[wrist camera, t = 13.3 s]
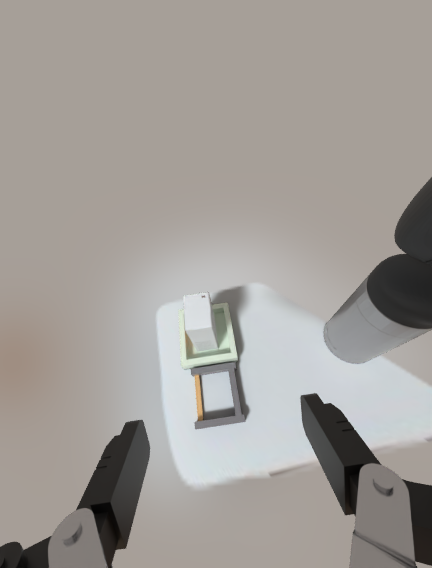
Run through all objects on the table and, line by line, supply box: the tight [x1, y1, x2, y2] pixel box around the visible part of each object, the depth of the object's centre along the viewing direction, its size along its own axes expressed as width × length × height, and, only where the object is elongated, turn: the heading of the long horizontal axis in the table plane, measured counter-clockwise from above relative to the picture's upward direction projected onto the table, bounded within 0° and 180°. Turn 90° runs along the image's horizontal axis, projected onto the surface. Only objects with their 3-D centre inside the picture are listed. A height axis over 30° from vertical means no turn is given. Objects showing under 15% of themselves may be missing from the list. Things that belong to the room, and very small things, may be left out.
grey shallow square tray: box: [191, 362, 245, 429], centre depth 39 cm, size 8×9×2 cm
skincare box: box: [183, 292, 219, 351], centre depth 39 cm, size 6×4×12 cm
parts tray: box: [178, 302, 238, 370], centre depth 44 cm, size 10×11×3 cm
